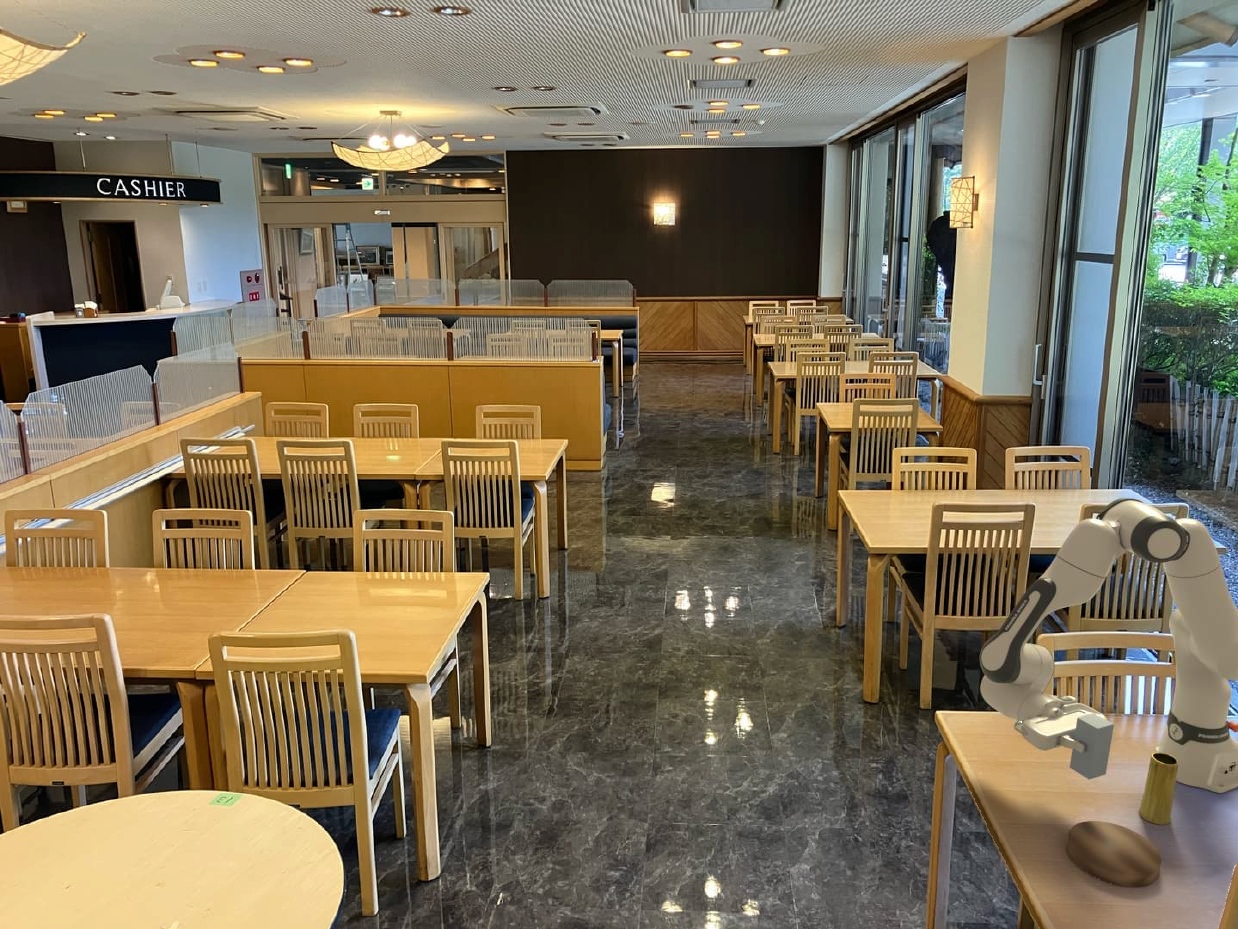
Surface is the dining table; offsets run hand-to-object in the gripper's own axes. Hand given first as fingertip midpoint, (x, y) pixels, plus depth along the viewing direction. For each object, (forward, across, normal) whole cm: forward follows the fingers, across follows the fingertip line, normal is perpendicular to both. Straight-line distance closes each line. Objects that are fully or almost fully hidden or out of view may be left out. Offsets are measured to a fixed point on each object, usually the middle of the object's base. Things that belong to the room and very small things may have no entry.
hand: (1095, 745), depth 207 cm
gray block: (-1, 0, +6) cm, 7 cm away
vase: (+6, +15, +18) cm, 24 cm away
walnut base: (+12, -6, +18) cm, 22 cm away
